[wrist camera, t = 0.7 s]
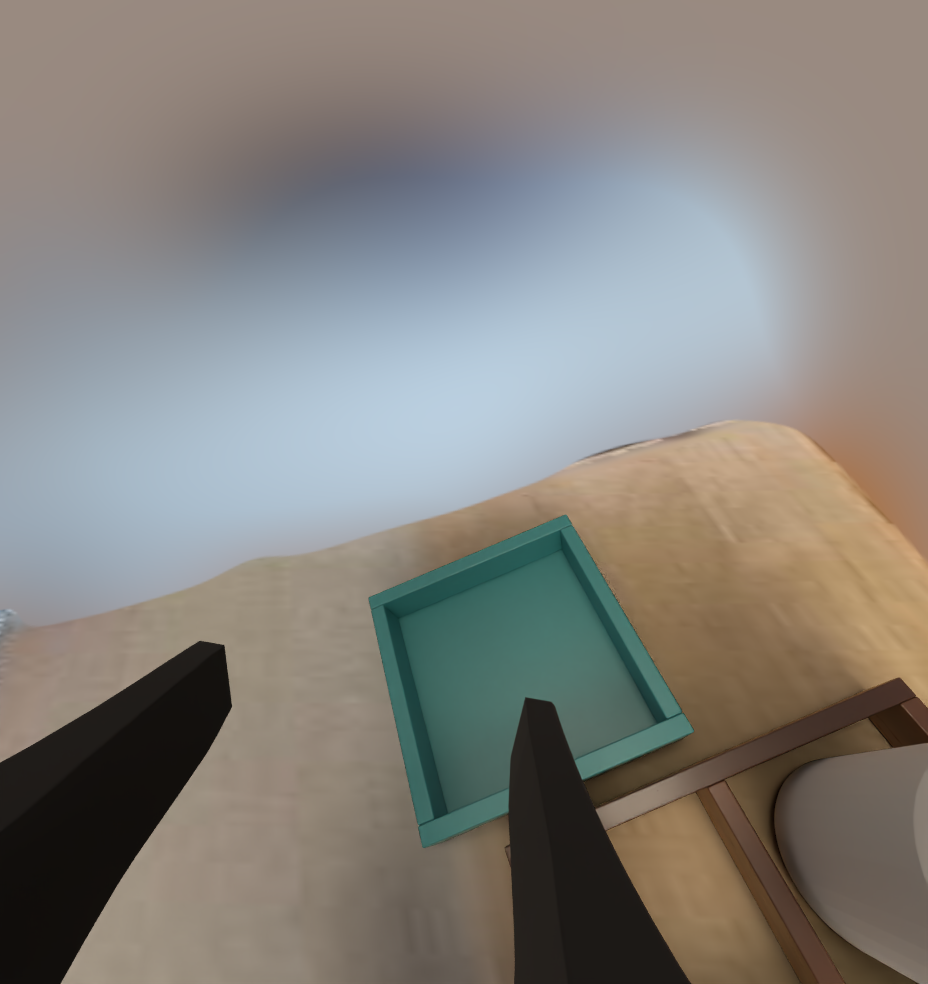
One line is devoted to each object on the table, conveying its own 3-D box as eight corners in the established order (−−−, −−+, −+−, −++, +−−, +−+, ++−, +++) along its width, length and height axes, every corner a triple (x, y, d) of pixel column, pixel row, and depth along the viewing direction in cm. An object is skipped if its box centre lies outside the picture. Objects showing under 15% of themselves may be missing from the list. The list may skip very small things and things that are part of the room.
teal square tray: (682, 738, 21) (694, 731, 19) (440, 843, 21) (422, 848, 19) (567, 537, 29) (566, 513, 26) (386, 614, 28) (367, 597, 26)
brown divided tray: (1099, 963, 15) (1187, 991, 13) (619, 1176, 15) (625, 1242, 13) (865, 689, 21) (900, 676, 19) (513, 842, 21) (504, 847, 18)
